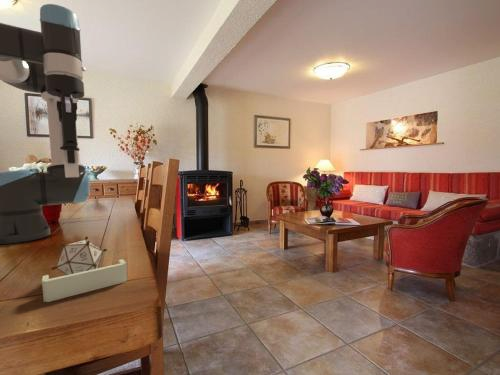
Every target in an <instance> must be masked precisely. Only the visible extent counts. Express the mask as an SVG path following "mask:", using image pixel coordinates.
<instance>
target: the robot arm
mask: <svg viewBox="0 0 500 375" xmlns="http://www.w3.org/2000/svg"><path fill="white" fill-rule="evenodd" d="M39 22H40V31H37V30H32V29H29V28H25V27H20V26H19V27H18V26H16V25H11V24H7V23H3V22H0V81H2V82H3V83H5V84H7V85H9V86H12V87H14V88H16V89H19V90H21V91H26V92H30V93H37V94H40V97H41V99H42V100H43V101H44V102H46V110H47V121H48V122H47V124H48V134H49V135H48V136H49V147H50V148H49V149H50V158H51V159H50V160H51V163H50V164H48V165H47V167H46V172H44V171H43V172H40V170H39V169H38V168H30V169H29V168H27V169H26V168H25V169H18V170H10V171H3V172H0V245H7V244H16V243H17V244H19V243H25V242H29V241H34V240H39V239H43V238H46V237H49V236H50V235H51V227H50V226H49V224H48V221H47V220H46V218H45V215H44V214H43V207H44V206H55V205H64V204H76V203H77V204H78V203H84V202H86V201H87V200H88V199H89V197H90V196H89V195H90V186H91V173H90V171H88V170H86V167H85V165H84V164H83V163H81V161H80V147H79V141H78V140H79V139H78V131H77V130H78V129H77V120H78V118H77V117H78V116H77V111H78V102H79V99H82V98H84V97H85V86H84V81H83V79H84V78H83V77H84V74H83V72H86V67H83V66H82V65H83V61H82V47H81V46H82V44H81V28H80V21H79V18H78V15H77V14H76V13H75V12H74V11H73V10H71V9H70V8H67V7H65V6H62V5H59V4H54V3H46V4H44V5H42V6H41V7H40V8H39Z"/></svg>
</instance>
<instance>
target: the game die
mask: <svg viewBox="0 0 500 375" xmlns="http://www.w3.org/2000/svg"><path fill="white" fill-rule="evenodd" d="M88 239H89V236H88V235H86V236H85V238H84V239H83V240H78V241H75V242H72V243H71V242H70V243H67V244H65V243H64V242H60V245H62V250H61V251H60V255H59V257H58V260H57V263H56V266H52V267H51V268H50V270H52V271H53V270H56V269H58V270H59V271H60V272H61V273H64V274H65V275H70V274H74V273H79V272H84V271H88V270H93V269H97V268H99V264H100V262H101V259H102V256H103V253H104V252H107V251H108V249H107V248H105V249H102V248H100V247H98V246H97V245H95V243H93V242H92V241H90V240H88Z"/></svg>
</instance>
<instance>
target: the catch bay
mask: <svg viewBox="0 0 500 375" xmlns="http://www.w3.org/2000/svg"><path fill="white" fill-rule="evenodd" d="M127 271H128V270H127V262H126V260H124V259H123V258H122V259H118V263H116V264H112V265H111V264H110V265H107V266H102V267H98V268H97V269H93V270H88V271H84V272H79V273H74V274H70V275H66V274H65V275H62V276H61V275H60V276H57V277H52V278H50V276H49V274H45V275H42V279H41V284H42V285H41V287H42V298H43V303H45V302H46V303H49V302H54V301H58V300H61V299H66V298H68V297H73V296H77V295H80V294H84V293H87V292H92V291H95V290H100V289H104V288H107V287H111V286H115V285H118V284H123V283H126V282H127V281H128V272H127Z"/></svg>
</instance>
